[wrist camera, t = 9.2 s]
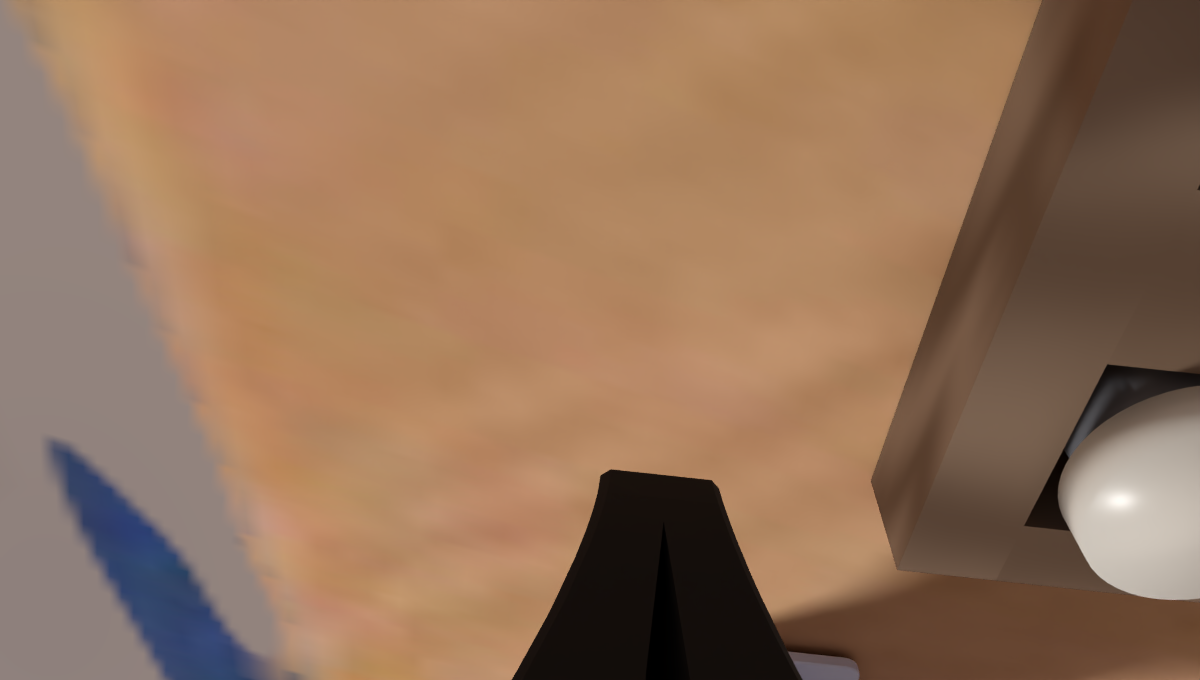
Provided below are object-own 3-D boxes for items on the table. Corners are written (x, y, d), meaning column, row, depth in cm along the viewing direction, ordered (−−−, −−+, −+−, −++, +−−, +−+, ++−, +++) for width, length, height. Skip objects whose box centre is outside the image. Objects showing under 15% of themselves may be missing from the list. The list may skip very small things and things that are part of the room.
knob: (1163, 466, 21) (1269, 611, 17) (978, 446, 21) (1045, 587, 17) (1258, 309, 18) (1408, 440, 15) (1048, 287, 18) (1144, 411, 15)
